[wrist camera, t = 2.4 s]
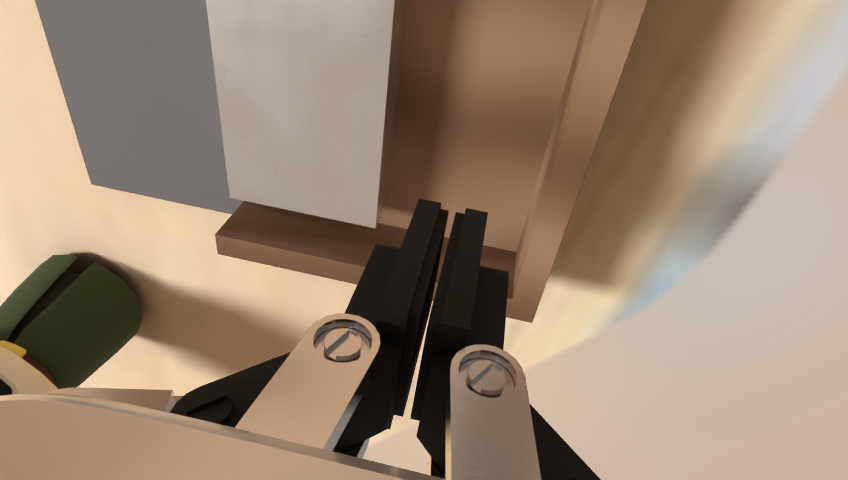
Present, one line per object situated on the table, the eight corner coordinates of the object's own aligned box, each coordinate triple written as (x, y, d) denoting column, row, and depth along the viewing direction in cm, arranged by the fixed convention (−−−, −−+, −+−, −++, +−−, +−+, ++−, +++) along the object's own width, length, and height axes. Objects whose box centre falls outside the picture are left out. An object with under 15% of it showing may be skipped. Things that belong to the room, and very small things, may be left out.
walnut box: (228, -191, 16) (149, -202, 13) (658, -123, 15) (689, -117, 12) (259, 202, 25) (218, 253, 22) (533, 260, 24) (531, 322, 21)
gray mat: (-39, -265, 16) (-48, -267, 16) (209, -228, 16) (204, -229, 15) (95, 181, 26) (91, 184, 26) (250, 214, 25) (248, 217, 25)
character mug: (188, 279, 29) (-10, 516, 18) (187, 357, 33) (27, 585, 23) (-4, 212, 28) (-315, 416, 18) (20, 301, 33) (-219, 505, 23)
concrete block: (227, -102, 16) (193, -97, 15) (413, -70, 16) (399, -62, 14) (251, 173, 23) (229, 197, 21) (387, 201, 22) (375, 228, 21)
